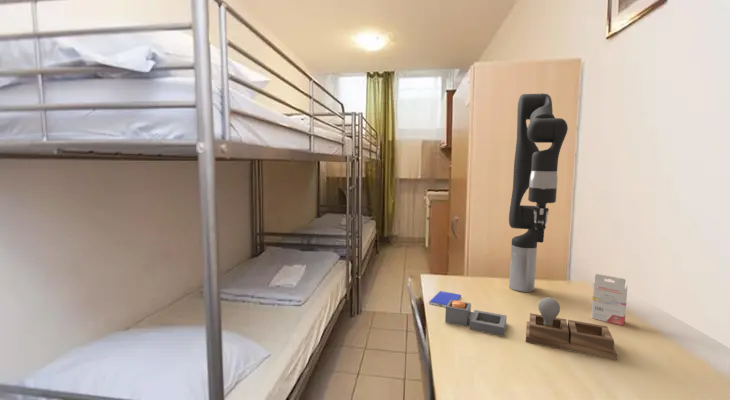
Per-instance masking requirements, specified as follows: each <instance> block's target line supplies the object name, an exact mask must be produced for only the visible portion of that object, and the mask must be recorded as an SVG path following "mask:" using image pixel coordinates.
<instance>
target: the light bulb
mask: <svg viewBox="0 0 730 400" xmlns="http://www.w3.org/2000/svg"><path fill="white" fill-rule="evenodd" d="M538 310H539V313H540V315H542V317H543V319H544V326H547V327H552V325H553V320H554V319H555V318H558V315H559V314H560V312H561V306H560V303H559V302H558V300H556V299H555V298H553V297H543V298H541V300H540V301H539V303H538Z"/></svg>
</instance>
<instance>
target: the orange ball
mask: <svg viewBox="0 0 730 400" xmlns="http://www.w3.org/2000/svg"><path fill="white" fill-rule="evenodd" d="M452 307H456V308H462V309H465V301H462V300H459V301H453V302H452Z"/></svg>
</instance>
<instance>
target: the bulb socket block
mask: <svg viewBox="0 0 730 400" xmlns="http://www.w3.org/2000/svg"><path fill="white" fill-rule="evenodd" d="M453 301H455V300H450V301H449V303H448V304H447V306H446V307H445V321H444V323H448V324H452V325H457V326H462V327H469V330H471V331H476V332H482V333H485V334H486V333H487V334H491V335H496V336H501V337H504V336H505V330H506V326H507V315H506V314H500V313H494V312H488V311H483V310H478V309H474V310H473V311H471V309H472V303H471V302H465V301H464V302H465V309H462V308H456V307H452V302H453Z"/></svg>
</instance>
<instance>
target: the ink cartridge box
mask: <svg viewBox="0 0 730 400" xmlns="http://www.w3.org/2000/svg"><path fill="white" fill-rule="evenodd" d="M607 280H611V281H607ZM612 281H614V282H612ZM592 287H593V290H592V305H591V318H592V319H594V320H597V321H598V320H599V321H601V322H606V323H609V324H614V325H618V326H622V327H623V326H624V323H625V321H626V315H627V313H626V312H627V311H626V309H627V299H628V285H626V279H625V278H622V277H616V276H610V275H606V274H599V273H596V274H594V282H593V286H592Z"/></svg>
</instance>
